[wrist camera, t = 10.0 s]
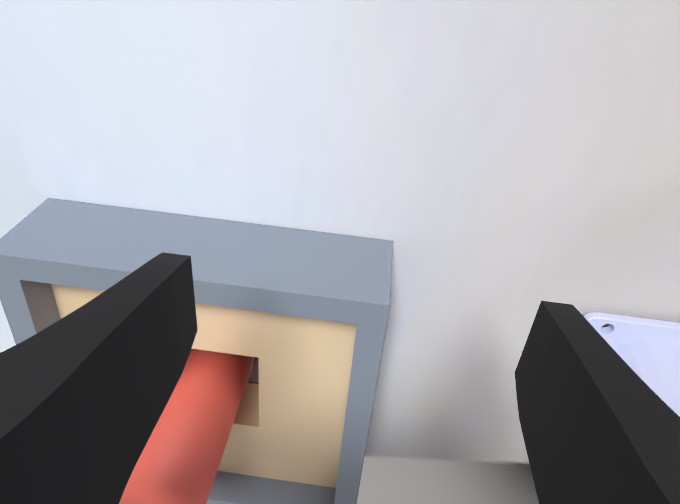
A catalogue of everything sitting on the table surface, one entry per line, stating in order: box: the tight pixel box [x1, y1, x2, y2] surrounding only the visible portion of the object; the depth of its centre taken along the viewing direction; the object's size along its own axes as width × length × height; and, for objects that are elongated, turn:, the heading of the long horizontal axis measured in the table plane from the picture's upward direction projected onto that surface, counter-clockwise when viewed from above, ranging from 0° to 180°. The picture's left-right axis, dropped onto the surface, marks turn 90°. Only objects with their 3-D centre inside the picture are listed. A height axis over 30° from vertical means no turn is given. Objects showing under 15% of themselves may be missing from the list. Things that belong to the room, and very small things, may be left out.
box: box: [0, 198, 393, 504], centre depth 24 cm, size 14×14×4 cm
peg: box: [120, 349, 255, 504], centre depth 22 cm, size 3×3×8 cm
